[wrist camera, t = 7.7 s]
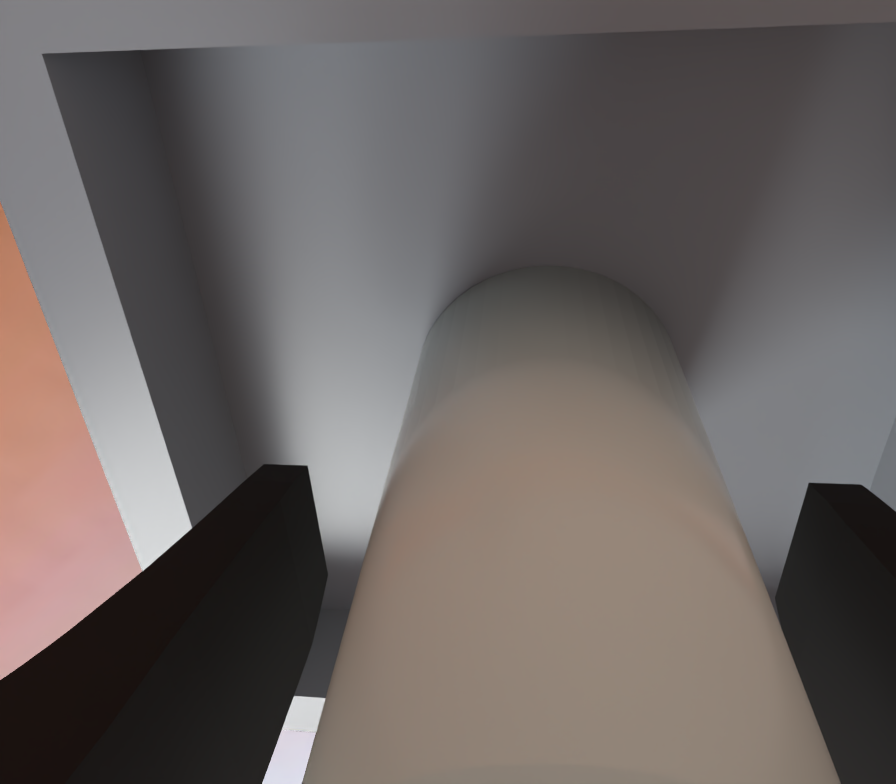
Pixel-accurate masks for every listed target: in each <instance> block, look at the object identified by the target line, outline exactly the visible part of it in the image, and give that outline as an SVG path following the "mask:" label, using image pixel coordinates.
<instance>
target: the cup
mask: <svg viewBox="0 0 896 784" xmlns="http://www.w3.org/2000/svg"><path fill="white" fill-rule="evenodd" d="M302 784H841V782H840V780H839V777H838V775H837V772H836V769H835V767H834V764H833V762H832V759H831V756H830V754H829V751H828V749H827V746H826V743H825V741H824V738H823V736H822V733H821V730H820V728H819V725H818V723H817V720H816V717H815V715H814V712H813V709H812V707H811V704H810V702H809V699H808V696H807V694H806V691H805V689H804V686H803V683H802V681H801V678H800V676H799V673H798V670H797V668H796V665H795V663H794V660H793V657H792V655H791V652H790V650H789V647H788V644H787V642H786V639H785V636H784V634H783V631H782V629H781V626H780V623H779V621H778V618H777V616H776V613H775V610H774V608H773V605H772V603H771V600H770V597H769V595H768V592H767V590H766V587H765V584H764V582H763V579H762V577H761V574H760V571H759V569H758V566H757V564H756V561H755V558H754V556H753V553H752V550H751V548H750V545H749V543H748V540H747V537H746V535H745V532H744V530H743V527H742V524H741V522H740V519H739V517H738V514H737V511H736V509H735V506H734V504H733V501H732V498H731V496H730V493H729V491H728V488H727V485H726V483H725V480H724V477H723V475H722V472H721V470H720V467H719V464H718V462H717V459H716V457H715V454H714V451H713V449H712V446H711V444H710V441H709V438H708V436H707V433H706V431H705V428H704V425H703V423H702V420H701V418H700V415H699V412H698V410H697V407H696V404H695V402H694V399H693V397H692V394H691V391H690V389H689V386H688V384H687V381H686V378H685V376H684V373H683V371H682V368H681V365H680V363H679V360H678V358H677V355H676V352H675V350H674V347H673V345H672V342H671V339H670V337H669V335H668V333H667V331H666V329H665V327H664V325H663V323H662V322H661V321H660V319H659V318H658V317H657V315H656V314H655V312H654V311H653V310H652V309H651V308H650V307H649V306H648V305H647V304H646V303H645V302H644V301H643V300H642V299H641V298H640V297H639V296H637V295H636V294H635V293H633V292H632V291H631V290H629V289H628V288H627V287H625V286H623V285H621V284H619V283H618V282H616V281H614V280H612V279H610V278H607V277H605V276H602V275H600V274H597V273H595V272H591V271H587V270H583V269H579V268H573V267H565V266H534V267H526V268H520V269H516V270H512V271H508V272H504V273H501V274H499V275H496V276H494V277H491V278H488V279H486V280H484V281H482V282H481V283H479V284H477V285H475V286H473V287H471V288H470V289H469V290H467V291H466V292H464V293H463V294H462V295H460V296H459V297H458V298H457V299H455V300H454V301H453V302H452V303H451V304H450V305H449V306H448V307H447V308H446V309H445V310H444V312H443V313H442V314H441V315H440V317H439V318H438V319H437V320H436V322H435V323H434V325H433V327H432V328H431V330H430V332H429V334H428V335H427V338H426V340H425V343H424V345H423V348H422V351H421V354H420V358H419V362H418V365H417V369H416V373H415V376H414V380H413V383H412V387H411V391H410V394H409V398H408V402H407V405H406V409H405V412H404V416H403V420H402V423H401V427H400V431H399V434H398V438H397V441H396V445H395V449H394V452H393V456H392V460H391V463H390V467H389V470H388V474H387V478H386V481H385V485H384V489H383V492H382V496H381V499H380V503H379V507H378V510H377V514H376V518H375V521H374V525H373V528H372V532H371V536H370V539H369V543H368V546H367V550H366V554H365V557H364V561H363V565H362V568H361V572H360V575H359V579H358V583H357V586H356V590H355V594H354V597H353V601H352V604H351V608H350V612H349V615H348V619H347V623H346V626H345V630H344V633H343V637H342V641H341V644H340V648H339V652H338V655H337V659H336V662H335V666H334V670H333V673H332V677H331V681H330V684H329V688H328V691H327V695H326V699H325V702H324V706H323V710H322V713H321V717H320V720H319V724H318V728H317V731H316V735H315V739H314V742H313V746H312V749H311V753H310V757H309V760H308V764H307V768H306V771H305V775H304V778H303V782H302Z"/></svg>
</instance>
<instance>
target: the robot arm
mask: <svg viewBox="0 0 896 784" xmlns="http://www.w3.org/2000/svg"><path fill="white" fill-rule="evenodd" d="M327 578H328V571H327V566H326V561H325V555H324V550H323V545H322V539H321V534H320V529H319V523H318V518H317V513H316V507H315V502H314V497H313V491H312V486H311V481H310V475H309V470H308V465H279V464H263V465H262V466H261V467H260V468H259V469H258V470H256V471H255V472H254V473H253V474H252V475H251V476H249V477H248V478H247V479H246V480H245V481H244V482H243V483H242V484H240V485H239V486H238V487H237V488H236V489H235V490H234V491H233V492H232V493H231V494H229V495H228V496H227V497H226V498H225V499H224V500H223V501H222V502H221V503H219V504H218V505H217V506H216V507H215V508H214V509H213V510H212V511H211V512H210V513H208V514H207V515H206V516H205V517H204V518H203V519H202V520H201V521H200V522H198V523H197V524H196V525H195V526H194V527H193V528H192V529H191V530H189V531H188V532H187V533H186V534H185V535H184V536H183V537H181V538H180V539H179V540H178V541H177V542H176V543H175V544H173V545H172V546H171V547H170V548H169V549H168V550H167V551H165V552H164V553H163V554H162V555H161V556H160V557H159V558H157V559H156V560H155V561H154V562H153V563H152V564H151V565H149V566H148V567H147V568H146V569H145V570H144V571H142V572H141V573H140V574H139V575H137V576H136V577H135V578H134V579H133V580H131V581H130V582H129V583H128V584H126V585H125V586H124V587H123V588H121V589H120V590H119V591H118V592H116V593H115V594H114V595H113V596H111V597H110V598H109V599H108V600H106V601H105V602H104V603H103V604H101V605H100V606H99V607H98V608H96V609H95V610H94V611H93V612H92V613H90V614H89V615H88V616H87V617H85V618H84V619H83V620H82V621H80V622H79V623H78V624H77V625H75V626H74V627H73V628H72V629H70V630H69V631H68V632H66V633H65V634H64V635H62V636H61V637H60V638H59V639H57V640H56V641H55V642H53V643H52V644H51V645H49V646H48V647H46V648H45V649H44V650H42V651H41V652H40V653H38V654H37V655H36V656H34V657H33V658H31V659H30V660H29V661H27V662H26V663H25V664H23V665H22V666H20V667H19V668H17V669H16V670H15V671H13V672H12V673H10V674H9V675H7V676H6V677H4V678H3V679H2V680H0V784H262V782H263V779H264V777H265V774H266V771H267V768H268V766H269V763H270V760H271V757H272V755H273V752H274V749H275V746H276V744H277V741H278V738H279V735H280V733H281V730H282V727H283V725H284V722H285V719H286V716H287V714H288V711H289V708H290V705H291V703H292V700H293V697H294V694H295V692H296V689H297V686H298V683H299V680H300V678H301V675H302V672H303V669H304V666H305V664H306V661H307V658H308V655H309V652H310V649H311V646H312V643H313V639H314V635H315V631H316V627H317V622H318V618H319V614H320V610H321V605H322V601H323V596H324V591H325V587H326V582H327ZM775 601H776V606H777V610H778V615H779V619H780V624H781V628H782V631H783V634H784V636H785V639H786V642H787V644H788V647H789V650H790V652H791V655H792V657H793V660H794V663H795V665H796V668H797V670H798V673H799V676H800V678H801V681H802V683H803V686H804V689H805V691H806V694H807V696H808V699H809V702H810V704H811V707H812V709H813V712H814V715H815V717H816V720H817V723H818V725H819V728H820V730H821V733H822V736H823V738H824V741H825V743H826V746H827V749H828V751H829V754H830V756H831V759H832V762H833V764H834V767H835V769H836V772H837V775H838V777H839V780H840V782H841V784H896V511H895V510H893V509H892V508H891V507H890V506H888V505H887V504H886V503H885V502H883V501H882V500H881V499H880V498H878V497H877V496H876V495H875V494H873V493H872V492H871V491H869V490H868V489H867V488H865V487H864V486H863V485H861V484H834V483H809V484H808V487H807V490H806V494H805V497H804V501H803V504H802V507H801V511H800V514H799V518H798V521H797V524H796V528H795V531H794V535H793V538H792V541H791V545H790V548H789V552H788V555H787V558H786V562H785V565H784V569H783V572H782V575H781V579H780V582H779V586H778V589H777V592H776V596H775Z"/></svg>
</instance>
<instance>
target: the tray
mask: <svg viewBox="0 0 896 784" xmlns="http://www.w3.org/2000/svg"><path fill="white" fill-rule="evenodd" d="M0 202H1V204H2V207H3V210H4V212H5V215H6V217H7V220H8V223H9V225H10V228H11V231H12V233H13V236H14V238H15V241H16V244H17V246H18V249H19V251H20V254H21V257H22V259H23V262H24V264H25V267H26V270H27V272H28V275H29V277H30V280H31V283H32V285H33V288H34V290H35V293H36V296H37V298H38V301H39V303H40V306H41V309H42V311H43V314H44V316H45V319H46V322H47V324H48V327H49V329H50V332H51V335H52V337H53V340H54V342H55V345H56V348H57V350H58V353H59V355H60V358H61V361H62V363H63V366H64V368H65V371H66V374H67V376H68V379H69V382H70V384H71V387H72V389H73V392H74V395H75V397H76V400H77V402H78V405H79V408H80V410H81V413H82V415H83V418H84V421H85V423H86V426H87V428H88V431H89V434H90V436H91V439H92V441H93V444H94V447H95V449H96V452H97V454H98V457H99V460H100V462H101V465H102V467H103V470H104V473H105V475H106V478H107V480H108V483H109V486H110V488H111V491H112V493H113V496H114V499H115V501H116V504H117V506H118V509H119V512H120V514H121V517H122V519H123V522H124V525H125V527H126V530H127V533H128V535H129V538H130V540H131V543H132V546H133V548H134V551H135V553H136V556H137V559H138V561H139V564H140V566H141V569H142V571H144V570H145V569H146V568H147V567H148V566H149V565H151V564H152V563H153V562H154V561H155V560H156V559H157V558H159V557H160V556H161V555H162V554H163V553H164V552H165V551H167V550H168V549H169V548H170V547H171V546H172V545H173V544H175V543H176V542H177V541H178V540H179V539H180V538H181V537H183V536H184V535H185V534H186V533H187V532H188V531H189V530H191V529H192V528H193V527H194V526H195V525H196V524H197V523H198V522H200V521H201V520H202V519H203V518H204V517H205V516H206V515H207V514H208V513H210V512H211V511H212V510H213V509H214V508H215V507H216V506H217V505H218V504H219V503H221V502H222V501H223V500H224V499H225V498H226V497H227V496H228V495H229V494H231V493H232V492H233V491H234V490H235V489H236V488H237V487H238V486H239V485H240V484H242V483H243V482H244V481H245V480H246V479H247V478H248V477H249V476H251V475H252V474H253V473H254V472H255V471H256V470H258V469H259V468H260V467H261V466H262V465H263V464H279V465H308V470H309V475H310V481H311V486H312V491H313V497H314V502H315V507H316V513H317V518H318V523H319V529H320V534H321V539H322V545H323V550H324V555H325V561H326V566H327V571H328V578H327V582H326V587H325V591H324V596H323V601H322V605H321V610H320V614H319V618H318V622H317V627H316V631H315V635H314V639H313V643H312V646H311V649H310V652H309V655H308V658H307V661H306V664H305V666H304V669H303V672H302V675H301V678H300V680H299V683H298V686H297V689H296V692H295V694H294V697H293V700H292V703H291V705H290V708H289V711H288V714H287V716H286V719H285V722H284V725H283V727H282V730H289V731H302V732H315V733H316V731H317V728H318V724H319V720H320V717H321V713H322V710H323V706H324V702H325V699H326V695H327V691H328V688H329V684H330V681H331V677H332V673H333V670H334V666H335V662H336V659H337V655H338V652H339V648H340V644H341V641H342V637H343V633H344V630H345V626H346V623H347V619H348V615H349V612H350V608H351V604H352V601H353V597H354V594H355V590H356V586H357V583H358V579H359V575H360V572H361V568H362V565H363V561H364V557H365V554H366V550H367V546H368V543H369V539H370V536H371V532H372V528H373V525H374V521H375V518H376V514H377V510H378V507H379V503H380V499H381V496H382V492H383V489H384V485H385V481H386V478H387V474H388V470H389V467H390V463H391V460H392V456H393V452H394V449H395V445H396V441H397V438H398V434H399V431H400V427H401V423H402V420H403V416H404V412H405V409H406V405H407V402H408V398H409V394H410V391H411V387H412V383H413V380H414V376H415V373H416V369H417V365H418V362H419V358H420V354H421V351H422V348H423V345H424V343H425V340H426V338H427V335H428V334H429V332H430V330H431V328H432V327H433V325H434V323H435V322H436V320H437V319H438V318H439V317H440V315H441V314H442V313H443V312H444V310H445V309H446V308H447V307H448V306H449V305H450V304H451V303H452V302H453V301H454V300H455V299H457V298H458V297H459V296H460V295H462V294H463V293H464V292H466V291H467V290H469V289H470V288H471V287H473V286H475V285H477V284H479V283H481V282H482V281H484V280H486V279H488V278H491V277H494V276H496V275H499V274H501V273H504V272H508V271H512V270H516V269H520V268H526V267H534V266H565V267H573V268H579V269H583V270H587V271H591V272H595V273H597V274H600V275H602V276H605V277H607V278H610V279H612V280H614V281H616V282H618V283H619V284H621V285H623V286H625V287H627V288H628V289H629V290H631V291H632V292H633V293H635V294H636V295H637V296H639V297H640V298H641V299H642V300H643V301H644V302H645V303H646V304H647V305H648V306H649V307H650V308H651V309H652V310H653V311H654V312H655V314H656V315H657V317H658V318H659V319H660V321H661V322H662V323H663V325H664V327H665V329H666V331H667V333H668V335H669V337H670V339H671V342H672V345H673V347H674V350H675V352H676V355H677V358H678V360H679V363H680V365H681V368H682V371H683V373H684V376H685V378H686V381H687V384H688V386H689V389H690V391H691V394H692V397H693V399H694V402H695V404H696V407H697V410H698V412H699V415H700V418H701V420H702V423H703V425H704V428H705V431H706V433H707V436H708V438H709V441H710V444H711V446H712V449H713V451H714V454H715V457H716V459H717V462H718V464H719V467H720V470H721V472H722V475H723V477H724V480H725V483H726V485H727V488H728V491H729V493H730V496H731V498H732V501H733V504H734V506H735V509H736V511H737V514H738V517H739V519H740V522H741V524H742V527H743V530H744V532H745V535H746V537H747V540H748V543H749V545H750V548H751V550H752V553H753V556H754V558H755V561H756V564H757V566H758V569H759V571H760V574H761V577H762V579H763V582H764V584H765V587H766V590H767V592H768V595H769V597H770V600H771V603H772V605H773V608H774V610H775V613H776V616H777V618H778V621H779V623H780V619H779V615H778V610H777V606H776V601H775V596H776V592H777V589H778V586H779V582H780V579H781V575H782V572H783V569H784V565H785V562H786V558H787V555H788V552H789V548H790V545H791V541H792V538H793V535H794V531H795V528H796V524H797V521H798V518H799V514H800V511H801V507H802V504H803V501H804V497H805V494H806V490H807V487H808V484H809V483H834V484H861V485H863V486H864V487H865V488H867V489H868V490H869V491H871V492H872V493H873V494H875V495H876V496H877V497H878V498H880V499H881V500H882V501H883V502H885V503H886V504H887V505H888V506H890V507H891V508H892V509H893V510H895V511H896V0H0ZM780 626H781V624H780ZM781 629H782V628H781Z"/></svg>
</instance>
